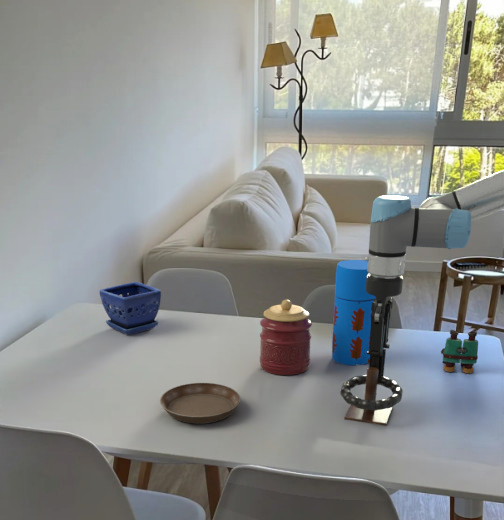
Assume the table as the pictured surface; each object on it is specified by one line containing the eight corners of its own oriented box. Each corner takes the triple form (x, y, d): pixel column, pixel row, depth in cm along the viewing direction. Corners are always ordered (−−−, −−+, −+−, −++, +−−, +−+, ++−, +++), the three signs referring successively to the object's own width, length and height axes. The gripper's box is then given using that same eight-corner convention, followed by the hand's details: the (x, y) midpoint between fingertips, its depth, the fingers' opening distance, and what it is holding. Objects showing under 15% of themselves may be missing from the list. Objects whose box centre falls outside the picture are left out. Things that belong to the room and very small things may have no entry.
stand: (392, 412, 157) (397, 364, 152) (385, 429, 149) (390, 379, 144) (352, 406, 160) (356, 359, 155) (343, 423, 152) (347, 373, 147)
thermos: (378, 356, 189) (387, 263, 178) (361, 368, 181) (369, 271, 170) (342, 348, 194) (348, 257, 183) (324, 360, 186) (329, 265, 175)
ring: (404, 384, 156) (405, 376, 155) (398, 415, 146) (399, 406, 144) (345, 378, 159) (346, 370, 158) (336, 407, 149) (336, 399, 148)
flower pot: (126, 339, 200) (123, 298, 195) (101, 327, 209) (97, 288, 204) (164, 329, 208) (162, 289, 203) (138, 318, 217) (136, 280, 212)
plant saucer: (213, 435, 146) (213, 422, 145) (144, 416, 154) (143, 404, 153) (254, 404, 160) (254, 392, 159) (189, 389, 168) (189, 377, 167)
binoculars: (478, 325, 182) (483, 334, 173) (472, 364, 186) (477, 375, 177) (442, 323, 184) (445, 331, 174) (438, 362, 187) (440, 372, 178)
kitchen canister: (288, 354, 190) (290, 290, 182) (320, 368, 180) (323, 301, 173) (249, 364, 183) (249, 298, 175) (280, 380, 173) (282, 310, 166)
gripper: (373, 264, 154) (365, 365, 164) (359, 281, 140) (351, 390, 150) (408, 267, 152) (397, 369, 162) (397, 285, 138) (386, 395, 148)
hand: (375, 379), depth 156 cm, fingers open, 3 cm apart
